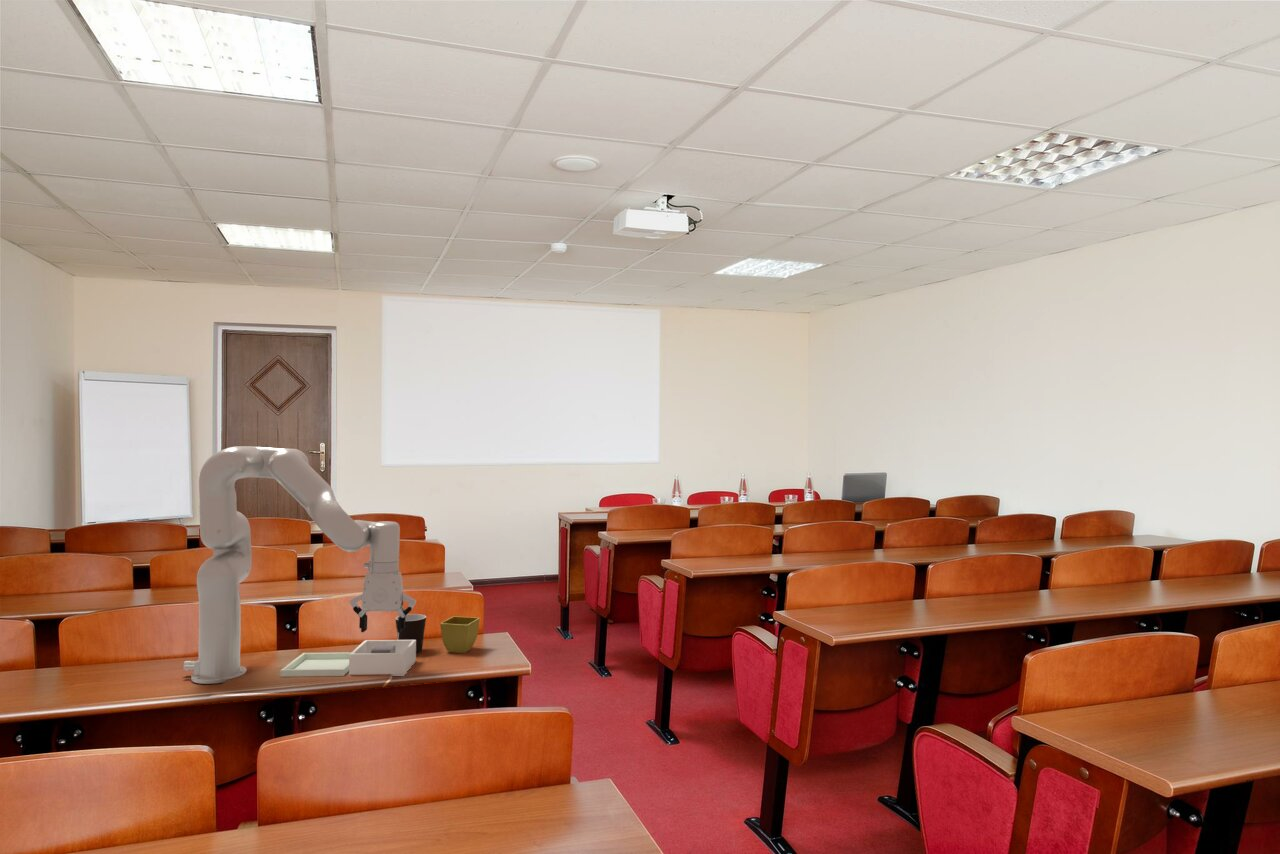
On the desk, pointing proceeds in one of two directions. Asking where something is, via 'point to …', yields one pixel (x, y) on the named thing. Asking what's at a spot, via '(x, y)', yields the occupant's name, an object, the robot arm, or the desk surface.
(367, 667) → the bin
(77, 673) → the desk surface
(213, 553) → the robot arm
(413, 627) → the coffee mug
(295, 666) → the tray
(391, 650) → the stone cube
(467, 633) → the flower pot
